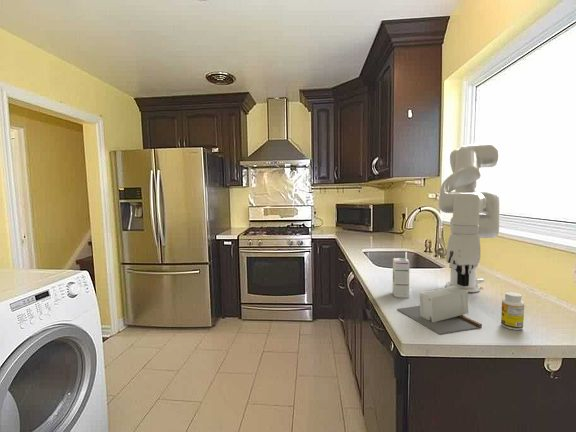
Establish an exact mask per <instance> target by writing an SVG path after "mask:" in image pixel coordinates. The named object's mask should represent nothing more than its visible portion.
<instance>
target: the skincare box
mask: <svg viewBox="0 0 576 432" xmlns="http://www.w3.org/2000/svg"><path fill="white" fill-rule="evenodd" d="M419 306H420V316H421V317H423V318H425V319H427V320H429V321H431V322H433V323H434V322H437V321H441V320H445V319H449V318H453V317H456V316H460V315H463V316H465V315H468V314H469V292H468V290H466V289H463V288H460V287H457V286H449V287H446V286H445V287H442V288H437V289H432V290H427V291H424V292H419Z"/></svg>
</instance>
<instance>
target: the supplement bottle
mask: <svg viewBox="0 0 576 432" xmlns="http://www.w3.org/2000/svg"><path fill="white" fill-rule="evenodd" d="M500 311H501V312H500V313H501V314H500V324H501V326H503V327H504V328H506V329H508V328H509V329H510V330H512V329H513V331H521V330H523V328H524V321H525V320H524V319H525V318H524V317H525V302H524V301H523V300H522V295H521V294H520V293H517V292H511V291H506V292H505V295H504V298H502V299H501V310H500ZM509 329H508V330H509Z"/></svg>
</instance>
